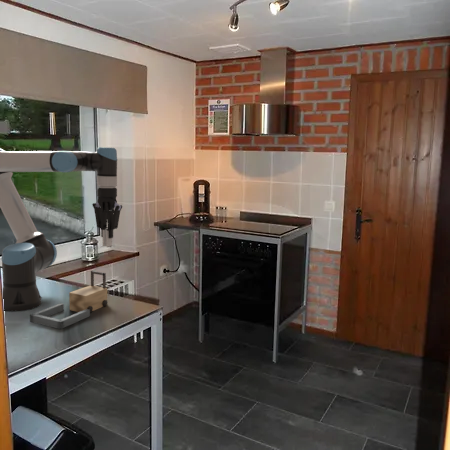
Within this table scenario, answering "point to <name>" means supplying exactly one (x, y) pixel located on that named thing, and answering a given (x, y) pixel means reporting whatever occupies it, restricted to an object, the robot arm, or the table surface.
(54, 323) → the frame
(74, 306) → the cart
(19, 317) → the table surface
